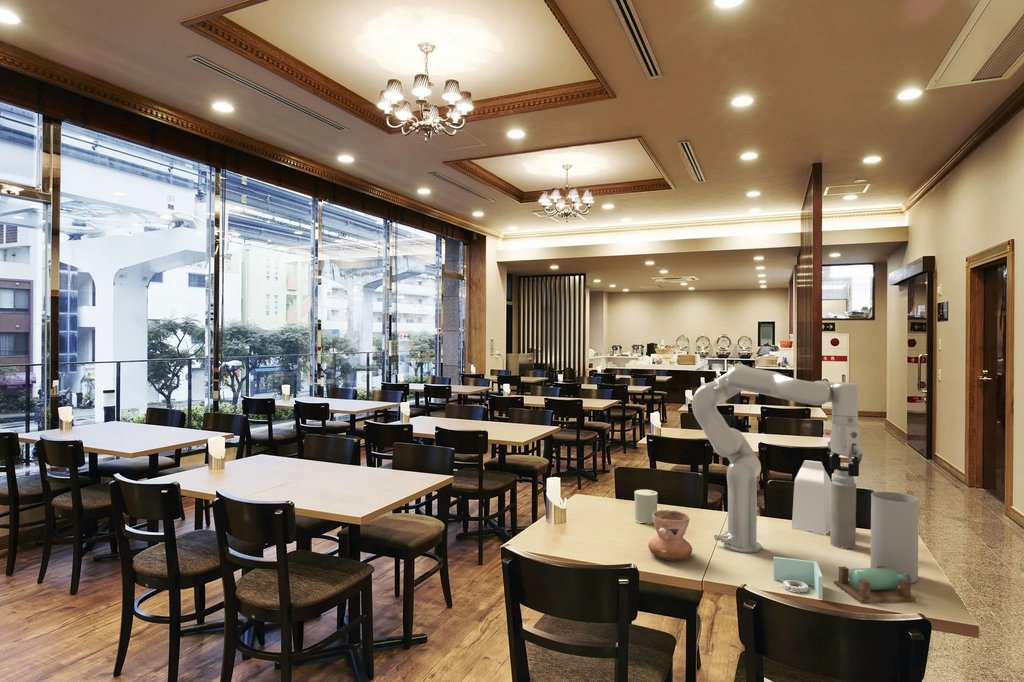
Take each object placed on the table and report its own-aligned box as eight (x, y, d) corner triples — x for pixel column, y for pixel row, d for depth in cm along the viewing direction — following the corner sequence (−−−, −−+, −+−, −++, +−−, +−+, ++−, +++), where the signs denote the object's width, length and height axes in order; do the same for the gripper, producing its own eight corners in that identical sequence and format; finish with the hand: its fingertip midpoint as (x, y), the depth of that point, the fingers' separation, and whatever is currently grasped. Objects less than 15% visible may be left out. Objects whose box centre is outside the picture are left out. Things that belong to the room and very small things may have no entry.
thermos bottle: (851, 541, 219) (851, 465, 219) (859, 549, 212) (859, 470, 211) (827, 540, 221) (828, 464, 221) (834, 547, 213) (835, 469, 213)
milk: (791, 528, 235) (792, 461, 235) (800, 521, 244) (800, 457, 243) (825, 534, 227) (826, 466, 227) (833, 527, 236) (833, 461, 235)
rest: (861, 603, 170) (861, 583, 170) (833, 583, 183) (834, 565, 183) (915, 601, 171) (916, 582, 170) (884, 582, 184) (885, 564, 183)
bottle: (861, 594, 173) (862, 574, 173) (848, 584, 179) (849, 564, 179) (914, 593, 174) (916, 573, 174) (900, 583, 180) (901, 563, 180)
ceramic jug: (682, 568, 194) (683, 524, 194) (639, 558, 202) (640, 516, 202) (700, 553, 209) (701, 512, 209) (659, 544, 217) (660, 505, 217)
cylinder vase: (874, 581, 185) (875, 499, 184) (867, 566, 196) (867, 489, 196) (922, 587, 180) (923, 504, 180) (911, 571, 192) (912, 493, 192)
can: (659, 524, 239) (660, 494, 239) (636, 524, 239) (636, 494, 239) (654, 517, 248) (654, 488, 248) (632, 517, 249) (632, 488, 248)
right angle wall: (773, 580, 186) (773, 556, 186) (816, 586, 182) (816, 561, 182) (776, 596, 175) (776, 571, 175) (822, 603, 171) (822, 576, 171)
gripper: (873, 424, 189) (872, 478, 189) (840, 416, 206) (839, 466, 206) (849, 424, 188) (849, 479, 189) (818, 416, 206) (818, 466, 206)
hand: (844, 472), depth 197 cm, fingers open, 9 cm apart
